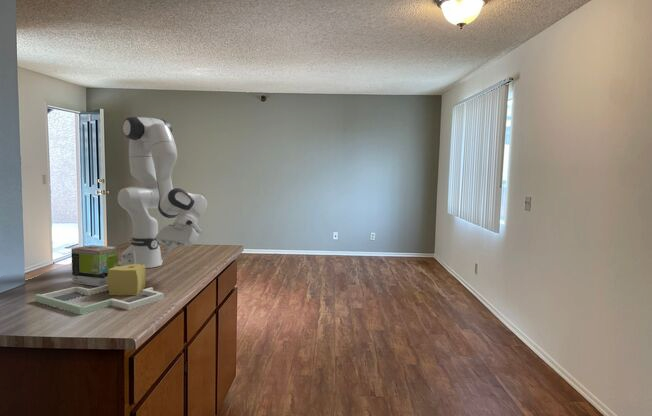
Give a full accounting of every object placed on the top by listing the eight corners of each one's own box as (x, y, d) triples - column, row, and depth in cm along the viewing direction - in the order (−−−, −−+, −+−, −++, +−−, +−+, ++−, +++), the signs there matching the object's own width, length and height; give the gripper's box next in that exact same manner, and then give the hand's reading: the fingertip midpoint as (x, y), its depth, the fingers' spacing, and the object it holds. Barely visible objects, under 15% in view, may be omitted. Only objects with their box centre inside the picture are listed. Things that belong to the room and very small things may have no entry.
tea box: (119, 281, 170) (118, 246, 169) (99, 287, 161) (98, 250, 159) (92, 277, 175) (91, 243, 174) (71, 283, 166) (70, 247, 164)
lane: (35, 301, 142) (35, 294, 142) (109, 283, 167) (109, 277, 167) (97, 320, 126) (97, 312, 126) (169, 296, 151) (169, 290, 150)
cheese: (119, 288, 160) (118, 263, 159) (147, 288, 161) (146, 263, 160) (107, 296, 150) (106, 269, 149) (137, 296, 151) (136, 269, 150)
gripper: (163, 220, 181) (145, 244, 173) (197, 222, 171) (179, 248, 163) (171, 228, 185) (154, 253, 177) (204, 231, 176) (188, 257, 168)
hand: (166, 251), depth 170 cm, fingers closed
